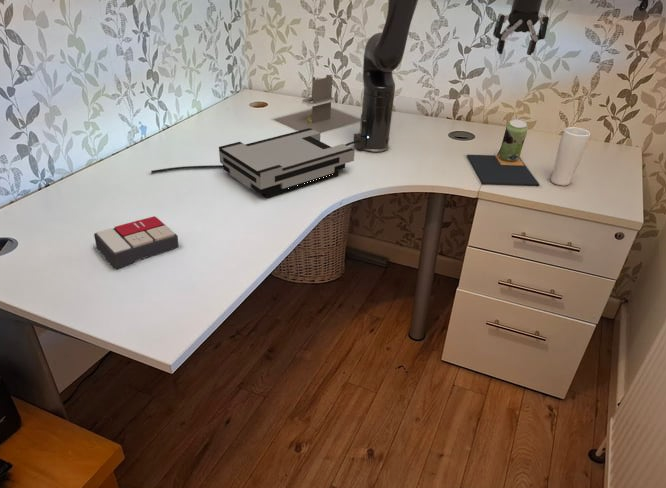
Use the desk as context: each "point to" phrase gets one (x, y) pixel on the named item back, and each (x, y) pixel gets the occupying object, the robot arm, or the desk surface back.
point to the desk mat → (501, 171)
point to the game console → (284, 162)
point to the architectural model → (319, 110)
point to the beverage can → (513, 140)
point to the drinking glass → (569, 154)
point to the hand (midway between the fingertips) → (514, 54)
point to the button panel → (135, 241)
